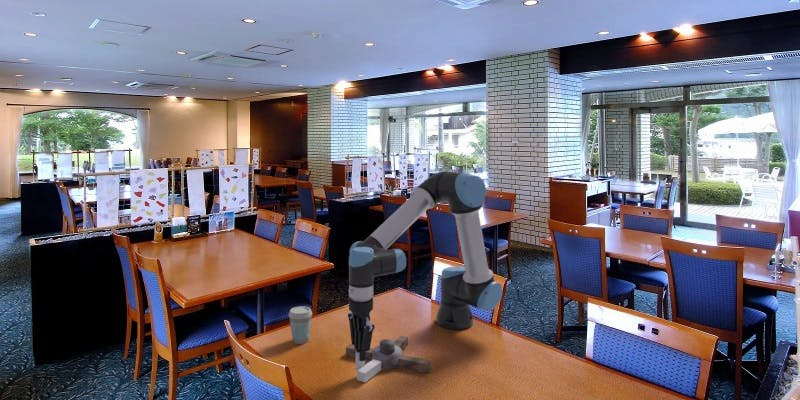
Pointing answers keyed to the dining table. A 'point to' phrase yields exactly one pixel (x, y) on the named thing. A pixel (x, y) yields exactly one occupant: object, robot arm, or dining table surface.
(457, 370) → the dining table surface
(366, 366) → the folding leg
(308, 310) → the coffee cup
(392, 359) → the stool base
